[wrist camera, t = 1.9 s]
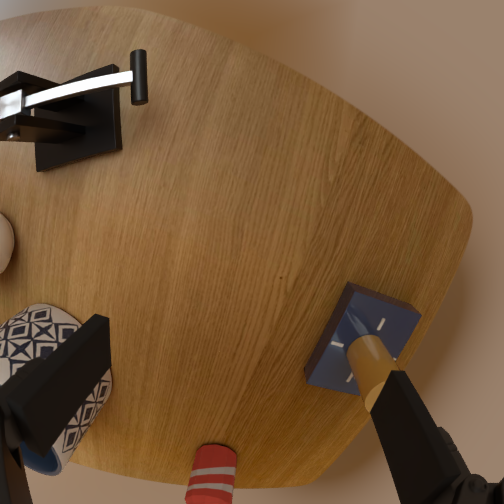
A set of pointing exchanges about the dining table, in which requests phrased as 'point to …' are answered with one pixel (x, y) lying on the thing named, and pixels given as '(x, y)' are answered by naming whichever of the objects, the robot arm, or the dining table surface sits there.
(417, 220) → the dining table surface
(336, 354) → the valve plate
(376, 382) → the valve knob
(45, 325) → the planter
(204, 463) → the beverage can
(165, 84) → the dining table surface
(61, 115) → the black angular piece
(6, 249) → the trinket box
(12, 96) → the faucet lever
